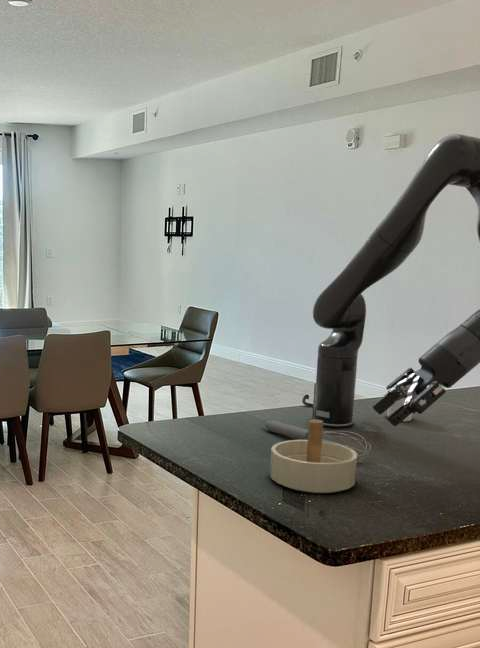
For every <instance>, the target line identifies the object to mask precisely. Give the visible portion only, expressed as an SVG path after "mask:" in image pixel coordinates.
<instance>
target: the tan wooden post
mask: <svg viewBox="0 0 480 648" xmlns="http://www.w3.org/2000/svg"><path fill="white" fill-rule="evenodd" d="M307 430H308V443H307V458H306V462H315V463H320V462H321V448H322V439H323V436H322V435H324V433H323V432H324V426H323V421H322V420H317V419H312V418H311V419H309V420H308V429H307Z"/></svg>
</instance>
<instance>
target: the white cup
mask: <svg viewBox="0 0 480 648" xmlns="http://www.w3.org/2000/svg"><path fill="white" fill-rule="evenodd" d="M400 394H401V393H400ZM405 400H406V398H402V399H400V400H398V401H395V403H394V404H393V405H392V406H390V407H389V408H388V409H387V410H386V411H387V412H386V413H387V415H386V417H387V416H388V415H390V414H391V413H392V412H393V411H394V410H396V409H397V408H398V407H399V406H400V405H401V404H402V405H404V404H403V403H404V402H405ZM412 419H413V414H412V413H411V414H410V415H409V416H408V417H406V418H405V419H404V420H403V421H402V422H409V421H412Z"/></svg>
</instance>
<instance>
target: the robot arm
mask: <svg viewBox="0 0 480 648" xmlns="http://www.w3.org/2000/svg"><path fill="white" fill-rule="evenodd" d="M447 186H455V187H461V188H465V189H466V190H467V191H468V193H469V194H470V195H471V197H472V198H473V200H474V202H475V203H476V207H477V212H478V213H477V219H476V220H477V221H476V234H477V238H478V242H480V137H475V136H470V135H465V134H460V133H451V134H448V135H446V136H444V137H442V138H441V139H440V140H439V141H438V142H436V144H435V145H434V146H433V147H432V148H431V150H430V151H429V153H428V154H427V156H426V157H425V158H424V159H423V162H422V164H421V165H420V167H419V168H418V169H417V171H416V173H415V174H414V176H413V178H412V179H411V180H410V182H409V184H408V185H407V187H406V188H405V190H404V191H403V192H402V194H401V195H400V196H399V198H398V199H397V200H396V202H395V204H394V205H393V206H392V207H391V209H390V210H389V212H388V213H387V214H386V215H385V217H384V218H383V219H382V220H381V221H380V222H379V223H378V225H377V226H376V228H374V230H373V231H372V232H371V234H370V235H369V236H368V237H367V239H366V241H365V242H364V243H363V245H362V246H361V247H360V249H359V250H358V251H357V253H355V254H354V256H353V257H352V259H351V260H350V261H349V262H348V264H347V265H346V266H345V268H343V269H342V271H341V272H340V273H339V274H338V275H337V276H336V278H334V280H332V281H331V283H329V284H328V285H327V286H326V287H325V289H324V290H323V291H322V292H321V293H320V294H319V295H318V297H317V298H316V299H315V302H314V305H313V308H312V317H313V321H314V322H315V324H316V325H317V326H318V327H320V328H323V329H327V330H331V333H330V335H328V337H327V338H325V339H324V340H323V341H321V342H320V343H319V344H318V346H317V362H316V376H315V378H316V379H315V383H314V386H313V387H314V388H313V389H314V390H313V399H312V400H313V402H311V403H310V402H307V401H306V400H310V395H309V394H305V395H304V396H303V397H302V400H301V401H302V404H303V405H305V406H307V407H311V408H312V416H311V417H312V418H311V420H312V419H317V420H322V421H323V427H325V428H348V427H351V426H353V425H354V420H353V416H354V408H355V407H354V406H355V405H354V404H355V393H356V382H357V371H358V369H357V367H358V356H359V350H360V348H361V346H362V344H363V341H364V340H363V339H364V332H365V331H364V330H365V325H366V316H367V304H366V300H365V297H364V296H363V294H362V293H364V292H365V291H366V290H367V289H368V288H370V287H371V286H373V285H374V284H376V283H378V282H379V281H381V280H382V279H384V278H385V277H387V276H389V275H390V274H391V273H393V272H394V271H396V270H397V269H398V268H399V267H400V266H401V265H402V264H403V263H404V262H405V261H406V260H407V259H408V257H410V255H412V253H413V252H414V251H415V249H416V248H417V247H418V246H419V244H420V242H421V240H422V238H423V234H424V229H425V222H426V218H427V217H426V216H427V213H428V210H429V208H430V206H431V205H432V203H433V202H434V201H435V200H436V198H437V197H438V196H439V195H440V194H441V192H442V191H443V190H445V188H446V187H447ZM418 363H419V365H420V366H421V367H420V369H417V370H416V371H415V370H414V369H413V368H412V367H409V368H407V369H406V370H405V371H404V372H402V373H401V374H400V375H399V376H397V378H395V379H394V380H392V381H391V382H390V383H389V384H387V385H386V387H385V389H386V391H385V392H386V393H385V394H384V395H383V396H382V397H381V398H380V399H378V400H377V401H376V402H375V403H374V404H373V405H372V409H373V410H374V411H375V413H377V414H378V415H382V414H383V413H385V412H386V411H387V409H388V408H389V407H390V406H392V405H393V404H394V403H395V401H398V400H400V399H402V398H406V400H405V402H404V403H403V404H404V405H402V404H401V405H400V406H399V407H398V408H397V409H396V410H394V411H393V412H392V413H391V414H390V415H388V416H387V415H386V420H387V421H388V422H389V423H390V424H391V425H392V426H393V427H397V426H398V425H400V424H401V423H402V422H404V421H403V420H404V419H405V418H406V417H408V416H409V415H410V414H411V413H412V415H414V414H416V413H417V414H419V415H421V414H423V413H425V412H426V410H427V409H428V408H430V407H431V406H432V405H433V404H435V402H437V401H438V400H439V399H440V398H441V397H442V396H443V395H444V394H446V392H447V391H446V389H450V388H452V387H453V386H454V385H455V384H457V383H458V382H459V381H460V380H461V379H462V378H463V377H465V376H466V375H467V374H469V372H471V371H472V370H474V369H475V368H476V367H477V366H478V365H479V364H480V308H479V309H477V310H476V311H474V312H473V313H472V314H471V315H470V316H469V317H467V318H466V319H465V320H464V321H463V322H462V323H460V324H459V325H458V326H457V327H456V328H454V329H452V330H450V331H449V332H448V333H447V334H446V335H444V337H442V338H441V339H440V340H439V341H437V342H436V343H435V344H434V345H433V346H431V347H430V348H429V349H428V350H427V351H426V352H425V353H424V354H422V355H421V356H420V357H419V358H418ZM445 388H446V389H445ZM400 393H401V394H400Z"/></svg>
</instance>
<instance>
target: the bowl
mask: <svg viewBox="0 0 480 648" xmlns="http://www.w3.org/2000/svg"><path fill="white" fill-rule="evenodd" d="M307 443H308V440H299V439H289V440H284V441H280V442H277V443H275V444H273V445H272V447H271V449H270V463H269V476H270V478H271V480H273V482H275V483H276V484H278V485H281V486H283V487H285V488H287V489H291V490H294V491H299V492H302V493H303V492H304V493H313V494H331V493H338V492H342V491H346V490H349V489H351V488H352V487H354V486H355V484H356V479H357V478H356V477H357V466H358V462H357V461H358V457H357V456H359V455H358V452H357V451H355V449H354V450H353V448H350V446H349V447H347V446H348V445H346V446H343V445H344V444H342V445H340V444H341V443H339V444H337V443H338V442H335V443H333V442H332V441H331V442H329V441H327V442H326V441H325V440H324V441H322V448H321V462H320V463H315V462H306V458H307Z"/></svg>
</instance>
